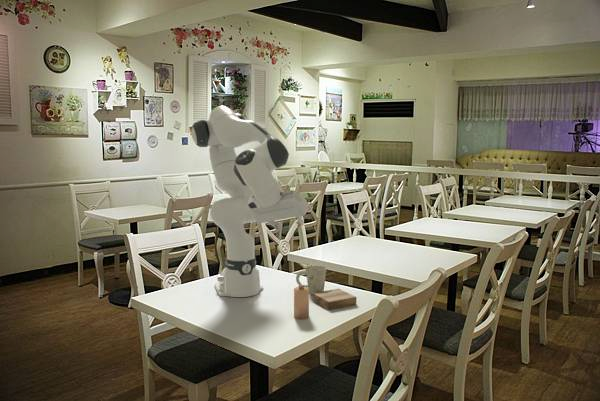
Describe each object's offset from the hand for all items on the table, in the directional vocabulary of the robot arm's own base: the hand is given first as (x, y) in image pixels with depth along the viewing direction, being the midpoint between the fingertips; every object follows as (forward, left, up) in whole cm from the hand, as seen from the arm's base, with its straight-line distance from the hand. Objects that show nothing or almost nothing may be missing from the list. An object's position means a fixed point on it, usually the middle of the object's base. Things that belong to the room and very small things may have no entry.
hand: (290, 226), depth 168 cm
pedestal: (-8, +23, -33) cm, 41 cm away
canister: (-1, +5, -33) cm, 33 cm away
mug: (-24, +22, -33) cm, 46 cm away
